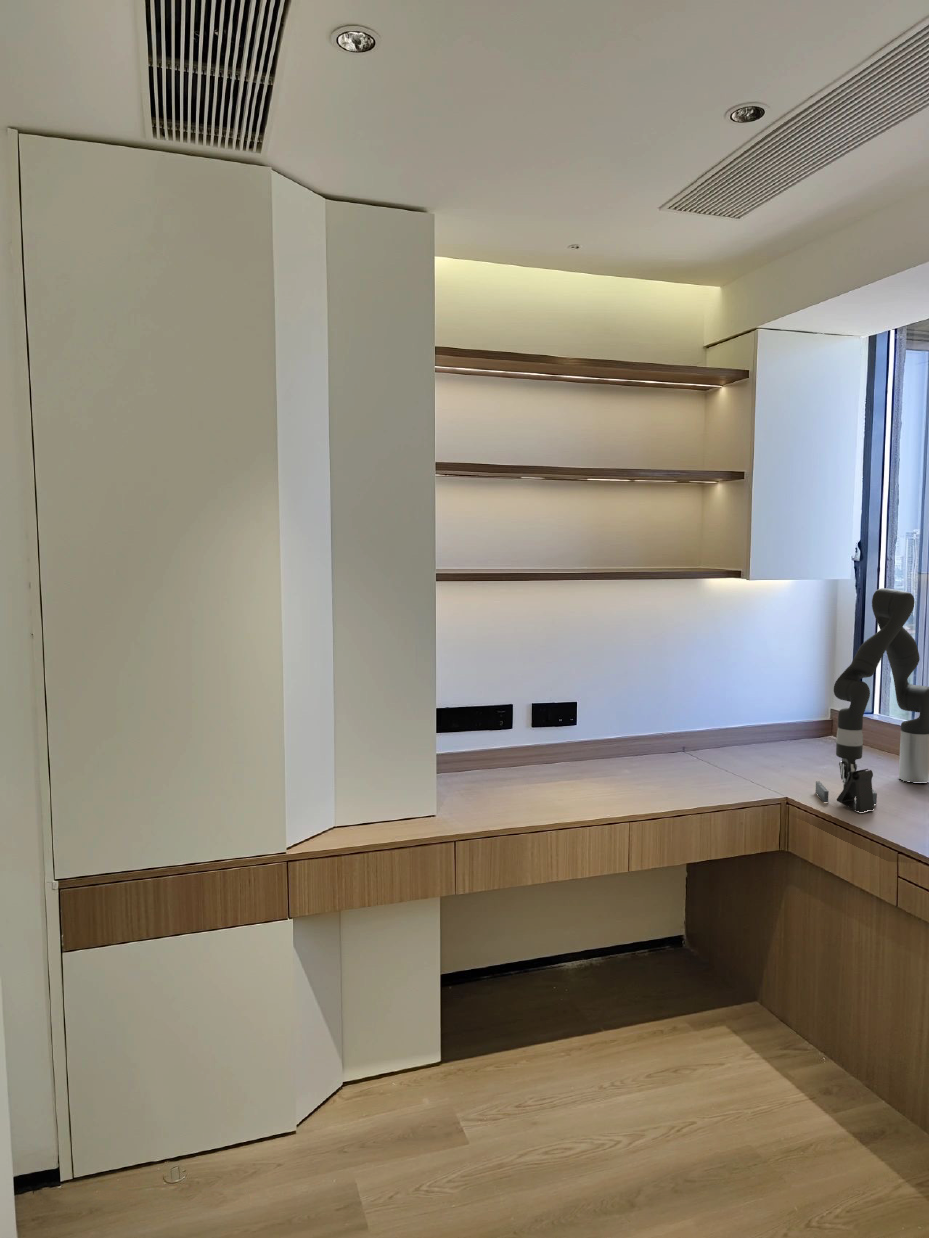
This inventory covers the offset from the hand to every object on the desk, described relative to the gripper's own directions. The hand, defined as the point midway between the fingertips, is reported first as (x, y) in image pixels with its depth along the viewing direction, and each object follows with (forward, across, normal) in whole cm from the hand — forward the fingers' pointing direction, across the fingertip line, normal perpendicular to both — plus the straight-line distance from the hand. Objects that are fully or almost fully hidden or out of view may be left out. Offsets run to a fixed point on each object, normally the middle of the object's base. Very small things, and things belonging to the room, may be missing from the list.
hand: (847, 795), depth 260 cm
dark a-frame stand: (+2, -6, -1) cm, 6 cm away
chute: (+2, +4, 0) cm, 4 cm away
